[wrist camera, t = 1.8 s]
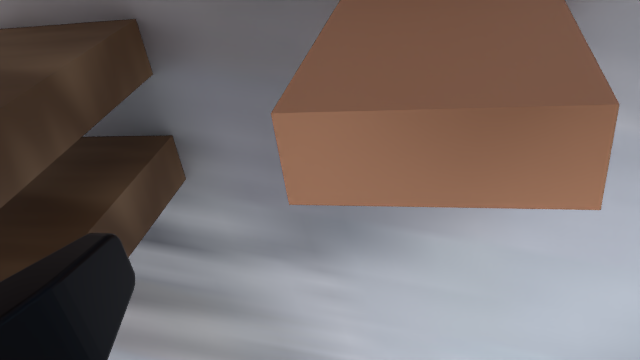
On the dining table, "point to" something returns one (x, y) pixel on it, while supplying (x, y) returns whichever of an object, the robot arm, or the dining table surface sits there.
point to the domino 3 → (447, 108)
